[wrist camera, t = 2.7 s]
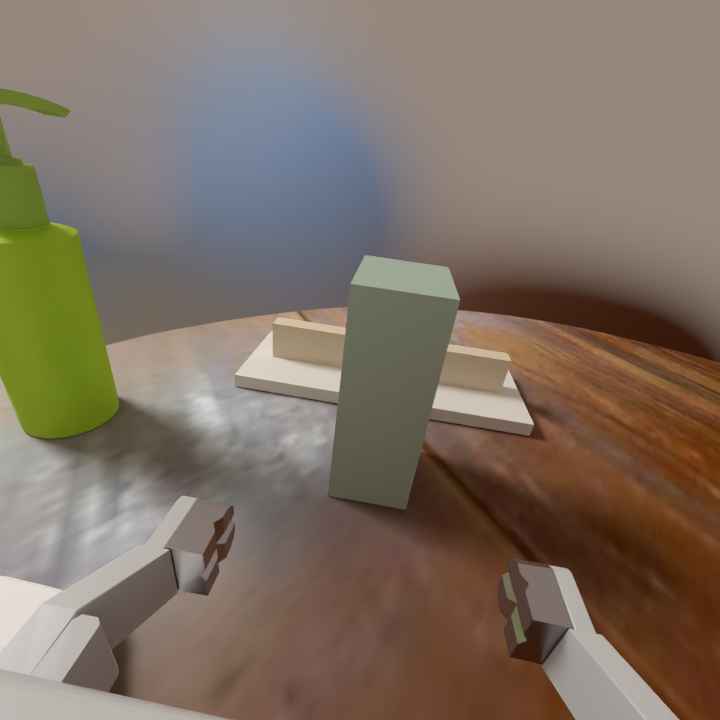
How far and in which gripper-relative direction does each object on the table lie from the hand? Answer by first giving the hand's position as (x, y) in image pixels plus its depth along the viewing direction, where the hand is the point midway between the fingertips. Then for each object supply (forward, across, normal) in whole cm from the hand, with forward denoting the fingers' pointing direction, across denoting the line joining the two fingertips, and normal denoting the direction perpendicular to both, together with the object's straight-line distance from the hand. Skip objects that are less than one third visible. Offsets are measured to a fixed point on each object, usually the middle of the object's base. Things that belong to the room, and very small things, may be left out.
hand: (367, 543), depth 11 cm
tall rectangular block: (+12, 0, +9) cm, 15 cm away
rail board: (+24, 0, +9) cm, 26 cm away
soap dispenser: (+13, +22, +10) cm, 28 cm away
